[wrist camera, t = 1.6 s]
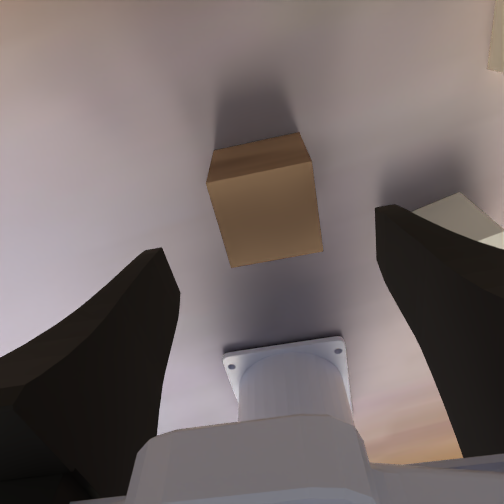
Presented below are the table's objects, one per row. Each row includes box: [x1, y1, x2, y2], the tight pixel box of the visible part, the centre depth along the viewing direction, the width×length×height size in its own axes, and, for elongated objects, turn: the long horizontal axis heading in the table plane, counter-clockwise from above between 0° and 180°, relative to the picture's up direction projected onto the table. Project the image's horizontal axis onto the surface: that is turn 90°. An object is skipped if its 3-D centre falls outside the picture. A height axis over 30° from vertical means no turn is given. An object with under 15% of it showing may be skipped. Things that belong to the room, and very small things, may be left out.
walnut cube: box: [206, 132, 323, 268], centre depth 16 cm, size 4×4×4 cm
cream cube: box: [412, 192, 504, 249], centre depth 18 cm, size 4×4×4 cm
